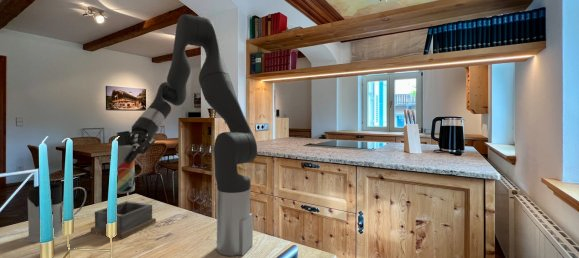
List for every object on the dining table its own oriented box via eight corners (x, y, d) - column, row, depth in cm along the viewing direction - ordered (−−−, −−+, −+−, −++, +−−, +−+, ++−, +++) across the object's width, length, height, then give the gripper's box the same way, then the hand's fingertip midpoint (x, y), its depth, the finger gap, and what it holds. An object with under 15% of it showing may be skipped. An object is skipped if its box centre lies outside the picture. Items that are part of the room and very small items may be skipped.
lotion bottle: (125, 194, 84) (124, 131, 83) (110, 193, 86) (108, 131, 84) (138, 189, 90) (137, 130, 89) (124, 188, 91) (123, 130, 90)
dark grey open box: (155, 222, 92) (155, 204, 92) (122, 239, 80) (121, 217, 80) (127, 217, 96) (126, 200, 96) (90, 232, 84) (90, 212, 84)
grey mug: (28, 234, 82) (26, 186, 81) (86, 223, 91) (85, 179, 90) (24, 245, 75) (23, 193, 75) (87, 231, 84) (86, 185, 84)
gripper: (127, 115, 96) (94, 153, 85) (159, 116, 91) (129, 156, 81) (139, 129, 101) (110, 166, 90) (170, 131, 97) (143, 170, 86)
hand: (119, 161), depth 85 cm, fingers closed on lotion bottle, 5 cm apart
